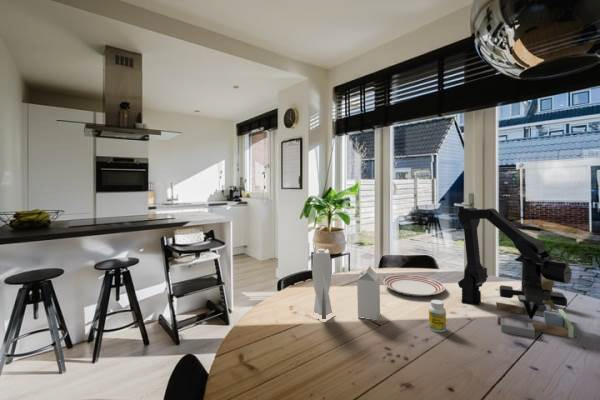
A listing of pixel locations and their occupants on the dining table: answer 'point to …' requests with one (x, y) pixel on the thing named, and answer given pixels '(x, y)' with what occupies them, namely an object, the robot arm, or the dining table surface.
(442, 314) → the supplement bottle
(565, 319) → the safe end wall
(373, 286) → the milk carton
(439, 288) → the dinner plate
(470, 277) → the robot arm
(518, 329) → the trap pockets
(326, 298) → the skyscraper
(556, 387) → the dining table surface
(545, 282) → the cork
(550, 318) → the slate block
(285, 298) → the dining table surface
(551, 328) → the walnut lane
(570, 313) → the dining table surface
